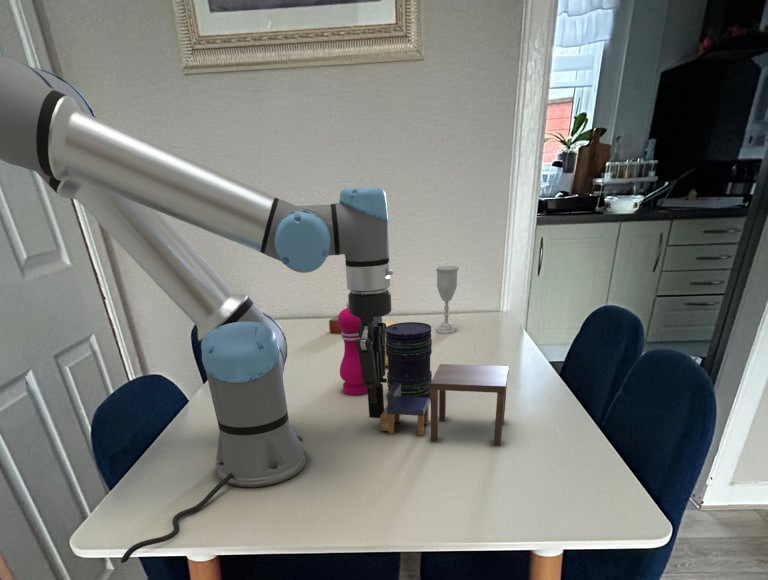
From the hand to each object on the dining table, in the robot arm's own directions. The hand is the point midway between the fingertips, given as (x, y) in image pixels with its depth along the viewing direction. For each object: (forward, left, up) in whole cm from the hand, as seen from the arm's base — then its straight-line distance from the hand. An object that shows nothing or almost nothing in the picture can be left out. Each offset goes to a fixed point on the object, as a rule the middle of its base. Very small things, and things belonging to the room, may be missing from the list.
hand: (376, 416), depth 107 cm
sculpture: (+40, +8, -2) cm, 41 cm away
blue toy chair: (0, -6, -2) cm, 6 cm away
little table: (0, -18, -2) cm, 18 cm away
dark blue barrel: (+17, -3, -2) cm, 17 cm away
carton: (+75, +28, -2) cm, 80 cm away
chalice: (+73, -3, -2) cm, 73 cm away
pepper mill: (+19, +10, -2) cm, 21 cm away
